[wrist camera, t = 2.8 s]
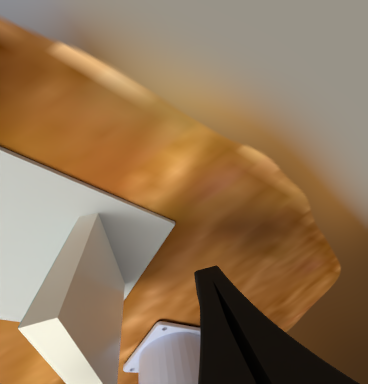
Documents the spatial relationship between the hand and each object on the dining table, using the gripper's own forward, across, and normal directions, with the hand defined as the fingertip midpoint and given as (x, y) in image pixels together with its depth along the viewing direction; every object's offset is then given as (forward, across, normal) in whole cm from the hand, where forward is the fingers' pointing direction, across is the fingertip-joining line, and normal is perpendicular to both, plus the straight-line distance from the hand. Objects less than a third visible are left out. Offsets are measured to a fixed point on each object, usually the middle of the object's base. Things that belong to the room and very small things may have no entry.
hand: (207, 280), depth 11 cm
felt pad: (+5, +10, 0) cm, 11 cm away
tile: (+4, +6, 0) cm, 8 cm away
